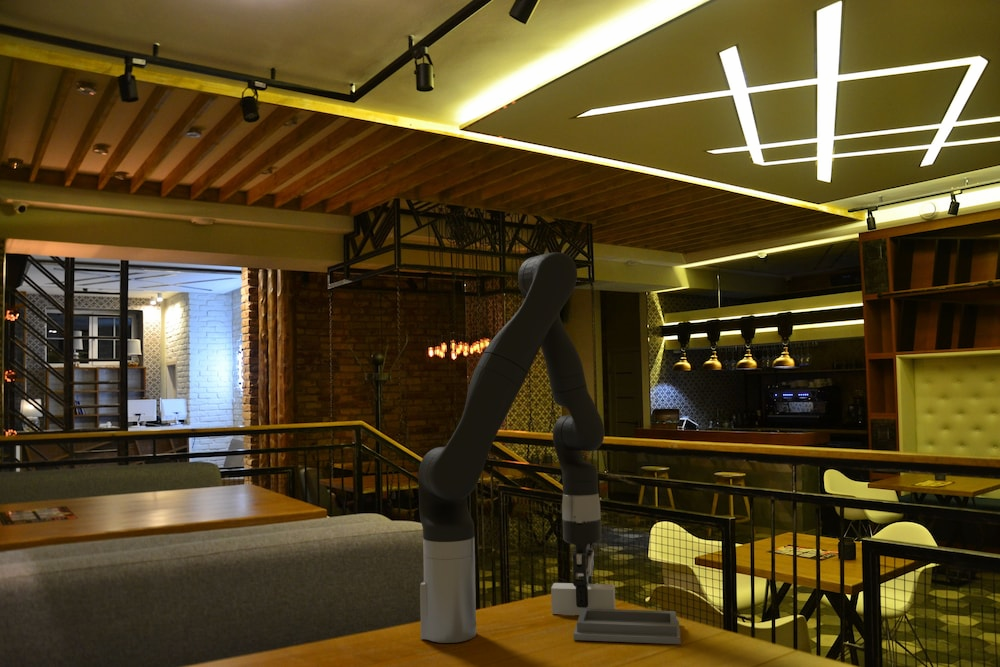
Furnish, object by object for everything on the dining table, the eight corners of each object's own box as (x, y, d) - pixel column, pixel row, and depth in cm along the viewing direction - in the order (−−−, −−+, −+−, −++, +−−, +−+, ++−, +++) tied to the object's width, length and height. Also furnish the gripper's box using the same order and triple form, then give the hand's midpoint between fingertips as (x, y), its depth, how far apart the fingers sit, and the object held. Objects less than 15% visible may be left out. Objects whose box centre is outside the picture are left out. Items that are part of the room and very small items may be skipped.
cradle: (680, 644, 130) (680, 628, 130) (573, 639, 133) (573, 624, 133) (678, 623, 141) (678, 609, 142) (580, 620, 145) (580, 606, 145)
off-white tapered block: (614, 616, 147) (613, 589, 148) (551, 614, 150) (551, 588, 150) (615, 610, 152) (614, 584, 152) (554, 608, 154) (554, 582, 155)
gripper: (566, 511, 160) (569, 591, 159) (557, 522, 146) (560, 610, 145) (603, 511, 158) (606, 592, 157) (597, 522, 145) (601, 611, 143)
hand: (584, 600), depth 151 cm, fingers open, 8 cm apart
